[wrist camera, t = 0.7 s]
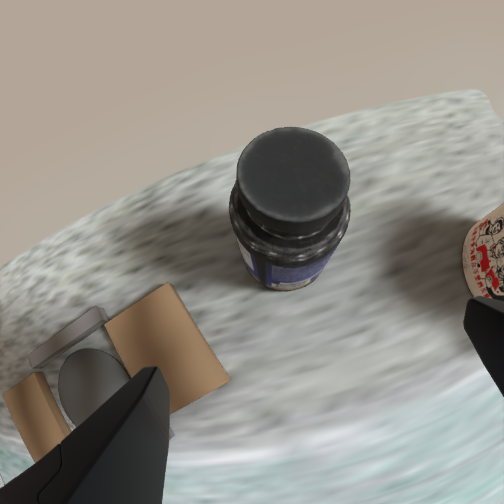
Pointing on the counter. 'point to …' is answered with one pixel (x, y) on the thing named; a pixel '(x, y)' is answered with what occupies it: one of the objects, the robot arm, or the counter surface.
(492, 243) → the teacup with lid
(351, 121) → the counter surface
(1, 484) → the ink box
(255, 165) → the pill bottle
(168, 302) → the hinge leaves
